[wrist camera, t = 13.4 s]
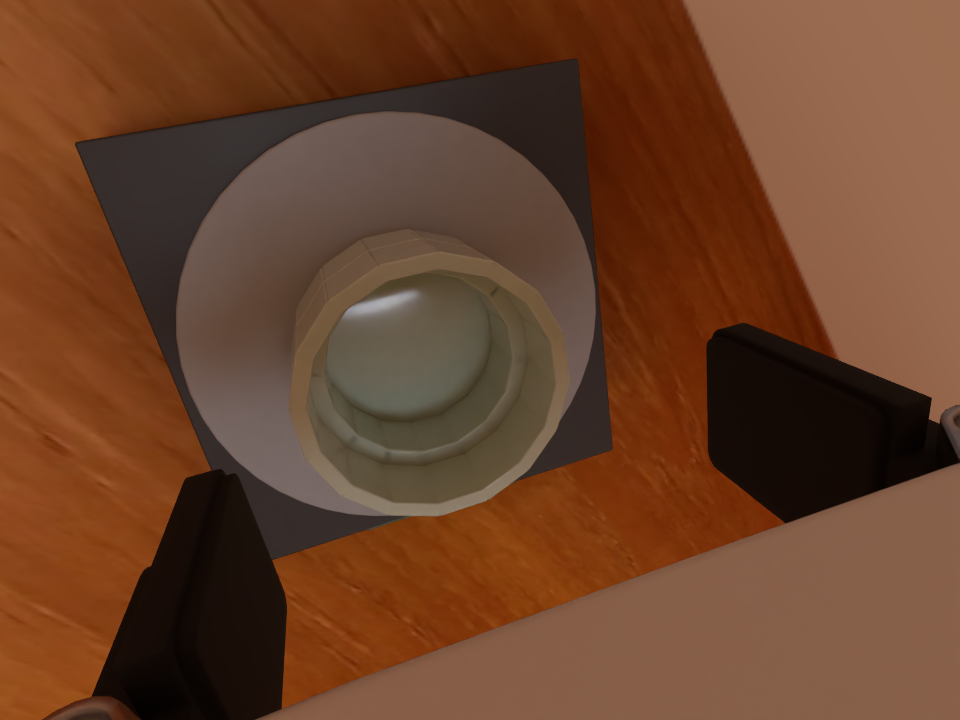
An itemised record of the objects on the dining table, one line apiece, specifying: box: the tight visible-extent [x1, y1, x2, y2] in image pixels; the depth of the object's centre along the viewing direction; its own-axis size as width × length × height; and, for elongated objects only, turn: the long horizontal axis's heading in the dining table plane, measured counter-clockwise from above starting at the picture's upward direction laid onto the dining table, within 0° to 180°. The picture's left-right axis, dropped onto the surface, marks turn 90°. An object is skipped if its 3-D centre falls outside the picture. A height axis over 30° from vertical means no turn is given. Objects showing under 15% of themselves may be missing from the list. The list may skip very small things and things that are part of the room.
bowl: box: [288, 229, 570, 516], centre depth 16 cm, size 7×7×4 cm
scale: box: [75, 58, 613, 560], centre depth 20 cm, size 14×14×4 cm
